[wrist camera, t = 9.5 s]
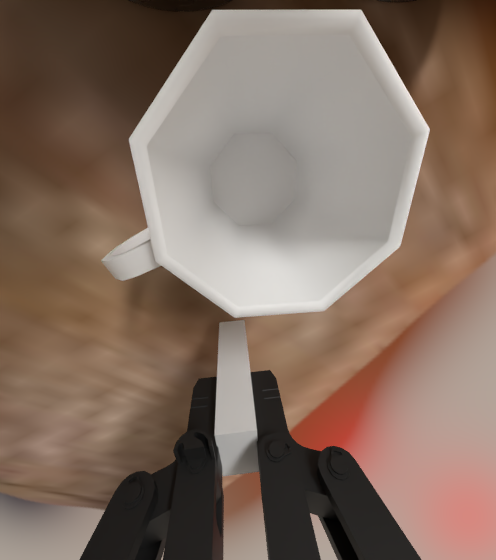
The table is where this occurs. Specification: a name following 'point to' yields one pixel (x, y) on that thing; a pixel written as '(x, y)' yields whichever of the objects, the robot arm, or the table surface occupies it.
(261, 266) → the cup
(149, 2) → the trolley
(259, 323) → the table surface
